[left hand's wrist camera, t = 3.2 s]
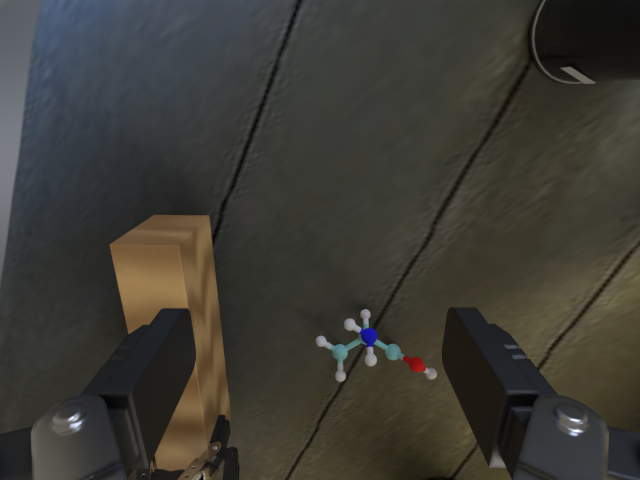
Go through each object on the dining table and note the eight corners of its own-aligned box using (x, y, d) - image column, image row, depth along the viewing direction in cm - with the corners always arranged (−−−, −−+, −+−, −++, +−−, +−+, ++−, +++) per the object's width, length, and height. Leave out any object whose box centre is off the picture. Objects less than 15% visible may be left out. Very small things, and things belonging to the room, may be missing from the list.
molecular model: (332, 403, 45) (350, 426, 35) (307, 327, 46) (318, 328, 37) (416, 369, 47) (454, 382, 37) (390, 298, 49) (420, 292, 39)
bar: (153, 214, 37) (109, 244, 30) (209, 215, 37) (178, 245, 29) (186, 416, 47) (159, 478, 39) (231, 417, 46) (212, 479, 39)
